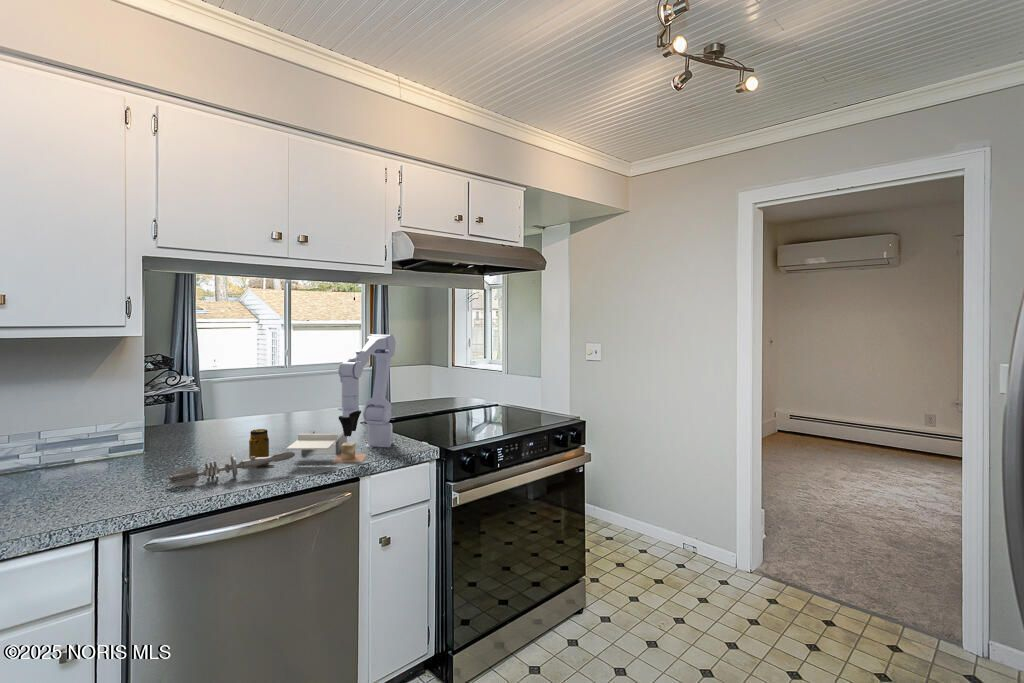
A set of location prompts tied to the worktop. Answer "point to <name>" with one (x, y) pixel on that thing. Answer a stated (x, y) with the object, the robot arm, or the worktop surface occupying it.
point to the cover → (313, 442)
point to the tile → (356, 459)
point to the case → (332, 450)
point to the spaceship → (223, 468)
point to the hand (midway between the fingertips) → (350, 433)
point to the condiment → (259, 445)
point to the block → (347, 451)
